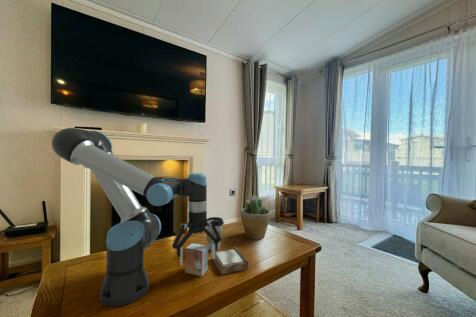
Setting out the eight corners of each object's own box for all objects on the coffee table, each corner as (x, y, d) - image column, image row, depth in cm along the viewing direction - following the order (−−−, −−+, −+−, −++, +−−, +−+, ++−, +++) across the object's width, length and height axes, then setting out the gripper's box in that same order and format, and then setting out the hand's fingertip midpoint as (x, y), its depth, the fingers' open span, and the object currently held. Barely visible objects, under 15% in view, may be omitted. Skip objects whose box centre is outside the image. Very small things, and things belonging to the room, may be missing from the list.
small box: (184, 273, 86) (184, 247, 86) (191, 266, 91) (191, 242, 91) (202, 276, 83) (202, 250, 83) (208, 269, 89) (208, 245, 89)
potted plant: (237, 231, 134) (238, 192, 134) (265, 229, 138) (265, 192, 137) (243, 243, 116) (244, 198, 116) (275, 241, 120) (275, 198, 119)
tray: (221, 274, 85) (221, 265, 85) (212, 258, 98) (212, 250, 98) (247, 269, 90) (248, 260, 90) (235, 254, 103) (236, 246, 103)
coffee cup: (220, 253, 104) (220, 223, 104) (201, 250, 106) (202, 221, 106) (225, 244, 114) (225, 217, 113) (208, 243, 116) (208, 216, 115)
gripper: (166, 216, 79) (167, 271, 79) (228, 209, 88) (228, 259, 88) (165, 211, 86) (165, 262, 86) (223, 205, 95) (223, 251, 95)
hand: (197, 260), depth 87 cm, fingers open, 13 cm apart
